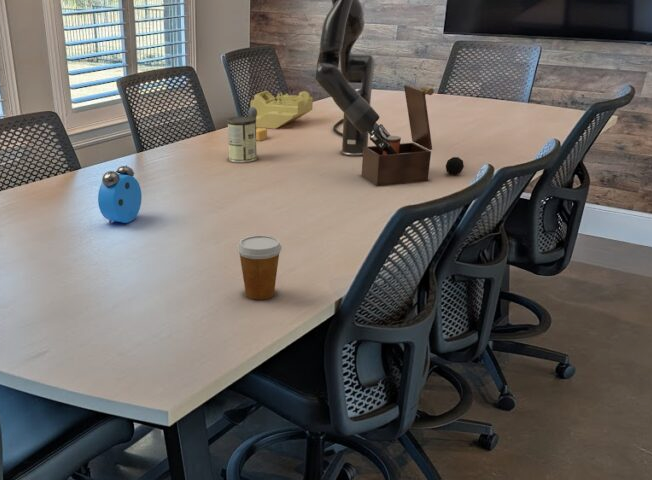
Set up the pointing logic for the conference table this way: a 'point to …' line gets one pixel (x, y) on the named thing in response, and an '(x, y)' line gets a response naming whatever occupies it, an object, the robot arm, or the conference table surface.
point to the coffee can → (242, 139)
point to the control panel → (280, 108)
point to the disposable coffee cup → (259, 265)
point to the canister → (393, 143)
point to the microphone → (454, 166)
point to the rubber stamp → (260, 132)
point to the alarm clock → (119, 195)
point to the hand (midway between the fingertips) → (396, 155)
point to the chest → (396, 165)
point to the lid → (418, 114)
